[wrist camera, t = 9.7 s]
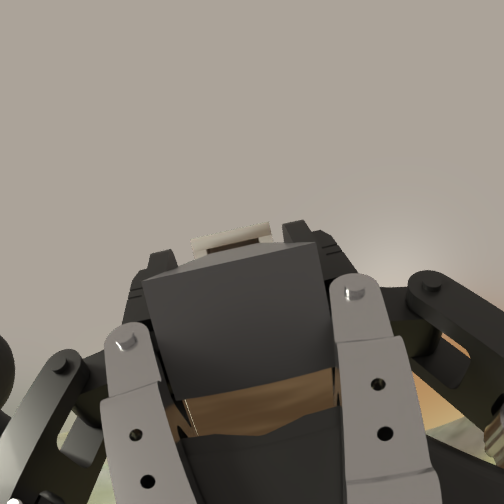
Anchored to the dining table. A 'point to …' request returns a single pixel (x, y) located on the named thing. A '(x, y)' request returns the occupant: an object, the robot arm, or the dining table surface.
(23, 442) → the robot arm
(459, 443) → the dining table surface
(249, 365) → the dark grey matte block
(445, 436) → the dining table surface
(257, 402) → the stand
